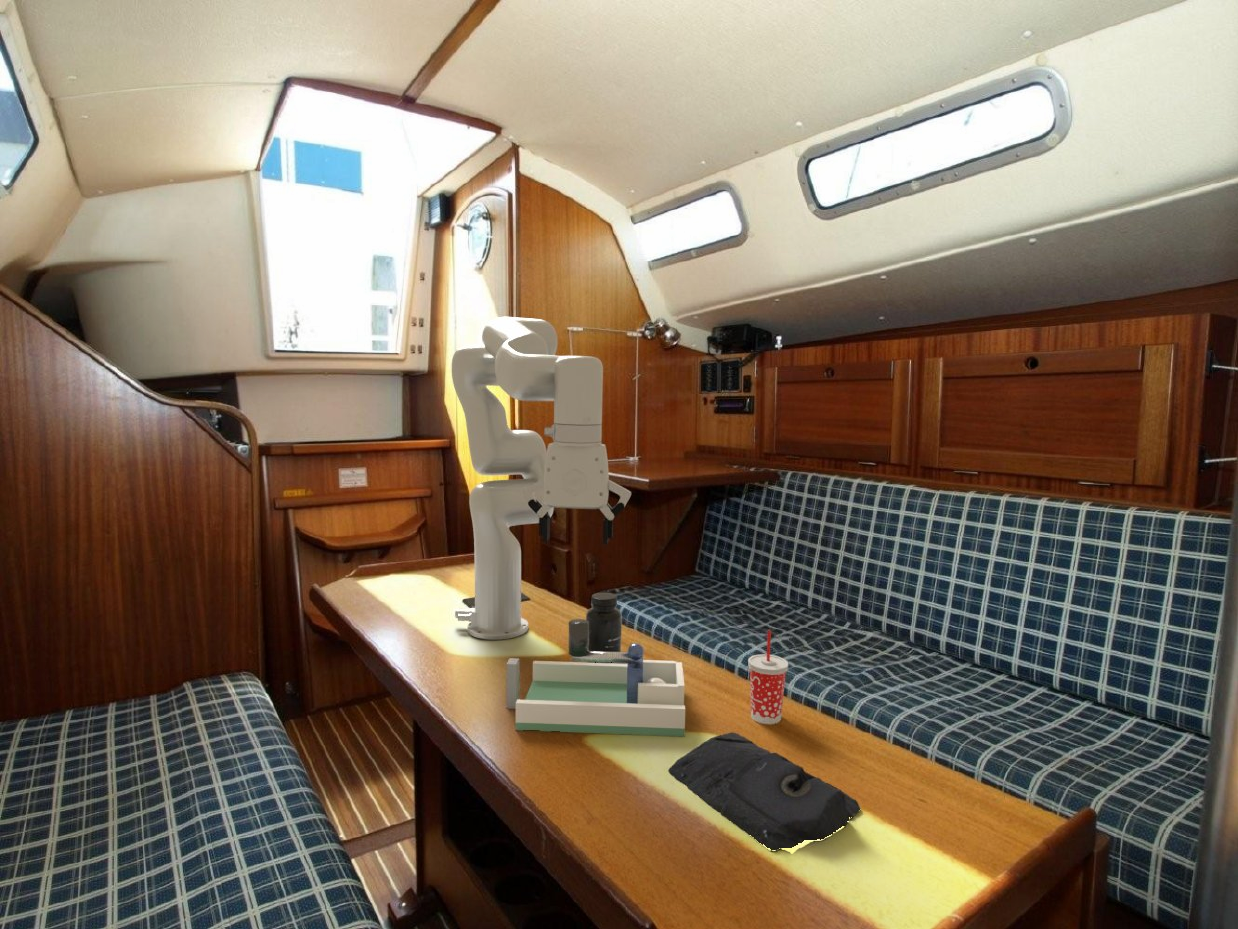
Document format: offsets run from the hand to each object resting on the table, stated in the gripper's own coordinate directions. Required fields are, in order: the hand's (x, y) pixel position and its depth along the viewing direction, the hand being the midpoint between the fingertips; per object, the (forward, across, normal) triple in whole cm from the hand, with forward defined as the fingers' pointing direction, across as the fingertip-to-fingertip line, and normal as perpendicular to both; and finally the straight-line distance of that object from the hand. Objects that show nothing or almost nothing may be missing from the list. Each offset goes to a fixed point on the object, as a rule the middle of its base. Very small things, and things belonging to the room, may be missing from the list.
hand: (575, 541), depth 110 cm
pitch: (+26, +4, -4) cm, 27 cm away
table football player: (+24, +6, -4) cm, 25 cm away
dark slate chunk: (+26, +27, -25) cm, 45 cm away
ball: (+23, +14, -4) cm, 27 cm away
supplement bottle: (+27, +4, +17) cm, 32 cm away
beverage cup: (+26, +31, -4) cm, 41 cm away
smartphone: (+28, -25, +50) cm, 62 cm away
